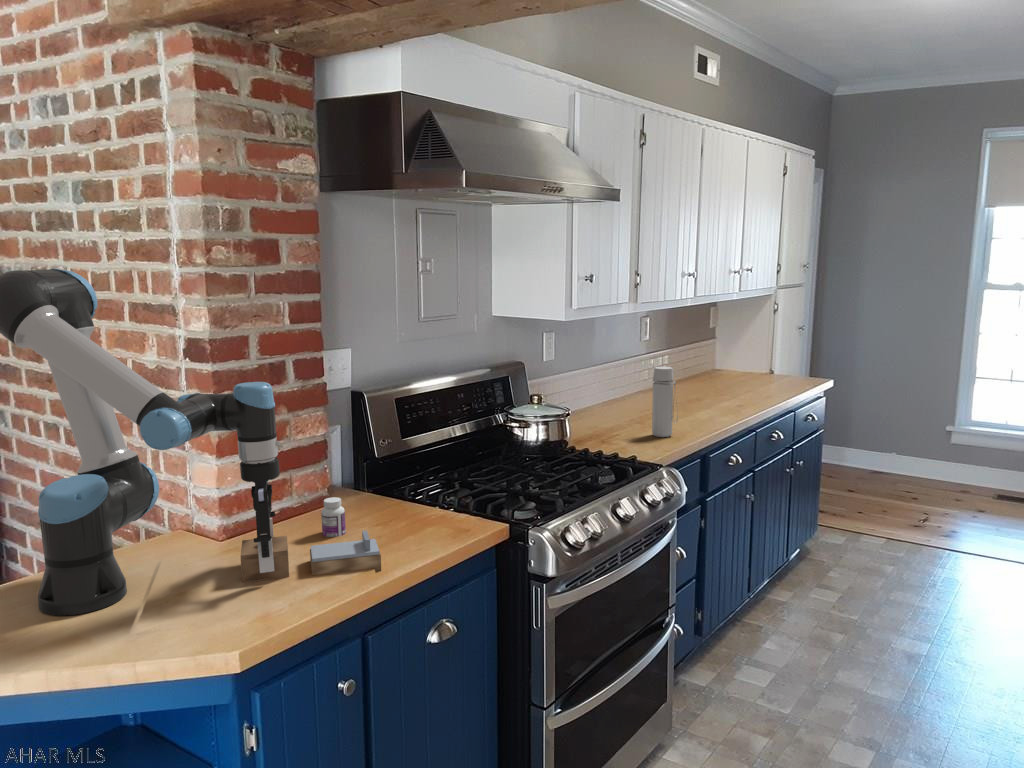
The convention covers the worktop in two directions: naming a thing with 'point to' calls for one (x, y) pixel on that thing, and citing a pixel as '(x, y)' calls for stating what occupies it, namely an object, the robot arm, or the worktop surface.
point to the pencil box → (346, 564)
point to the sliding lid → (345, 549)
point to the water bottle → (663, 401)
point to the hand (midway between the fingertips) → (267, 559)
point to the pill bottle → (333, 518)
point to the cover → (252, 560)
